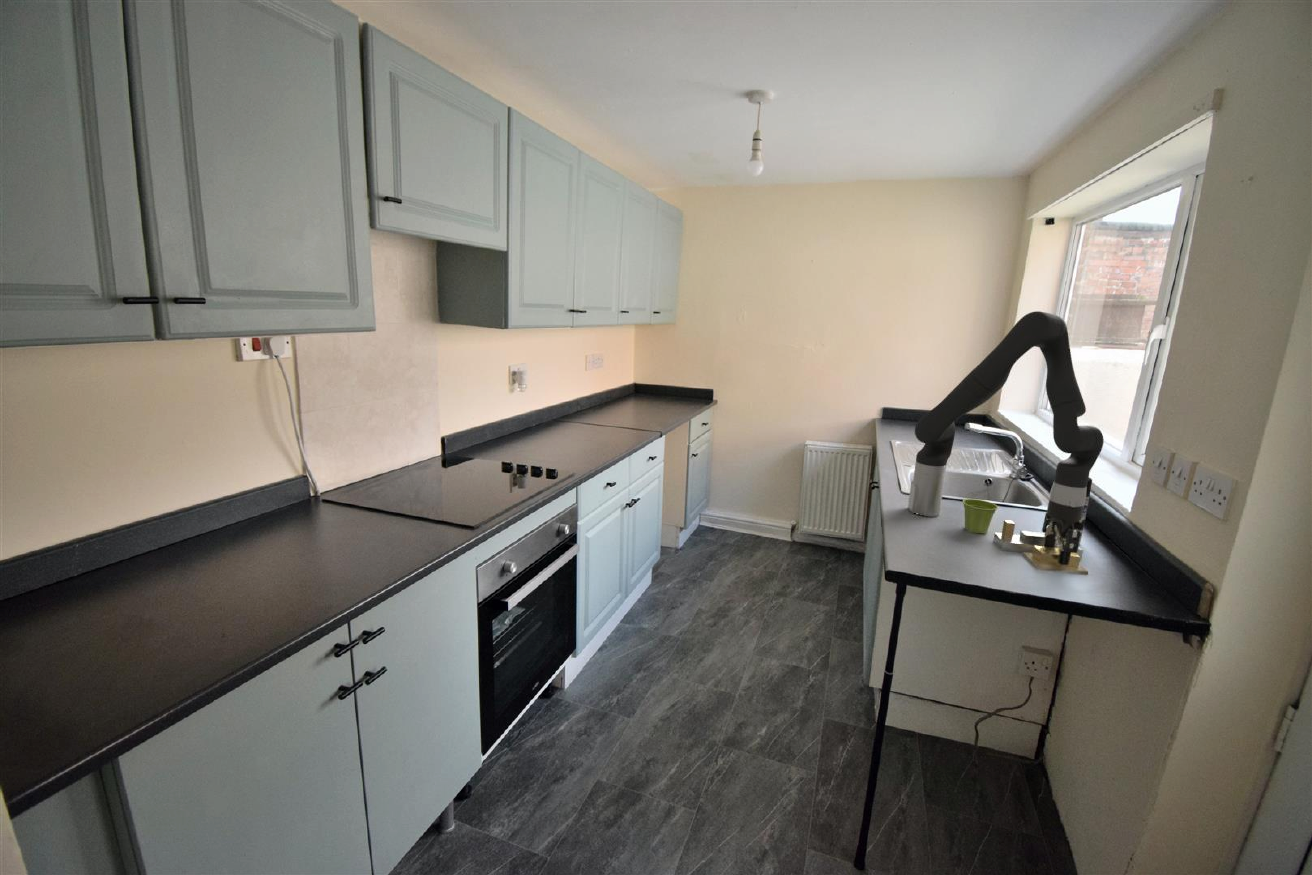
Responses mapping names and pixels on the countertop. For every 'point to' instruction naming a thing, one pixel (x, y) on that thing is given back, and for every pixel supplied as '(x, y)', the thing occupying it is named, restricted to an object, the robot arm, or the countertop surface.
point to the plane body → (1022, 540)
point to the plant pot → (978, 515)
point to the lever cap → (1053, 556)
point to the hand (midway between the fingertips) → (1055, 557)
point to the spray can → (1080, 524)
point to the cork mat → (1053, 566)
